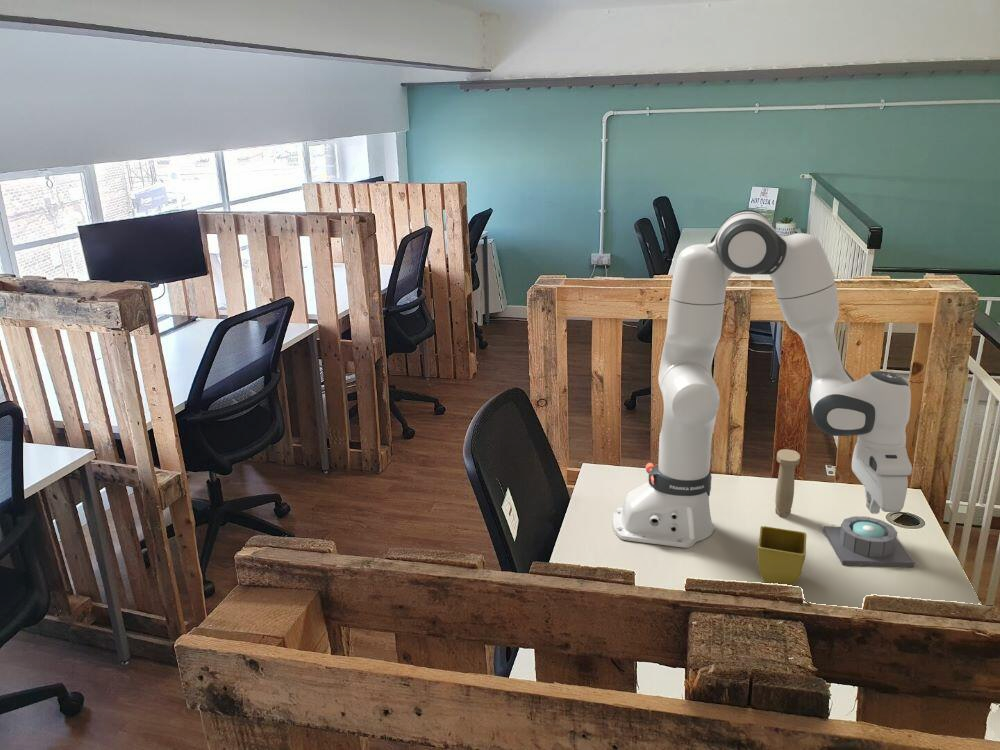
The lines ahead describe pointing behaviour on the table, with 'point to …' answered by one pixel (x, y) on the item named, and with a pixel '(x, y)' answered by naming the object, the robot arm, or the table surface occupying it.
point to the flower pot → (781, 555)
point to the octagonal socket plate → (867, 545)
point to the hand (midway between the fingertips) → (872, 510)
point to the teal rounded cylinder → (868, 529)
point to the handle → (786, 481)
